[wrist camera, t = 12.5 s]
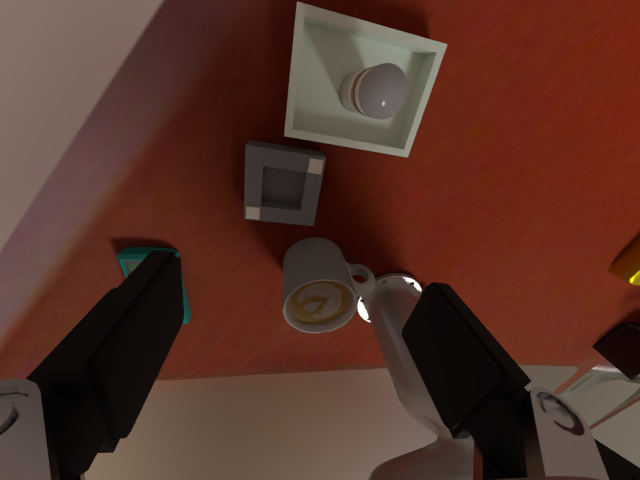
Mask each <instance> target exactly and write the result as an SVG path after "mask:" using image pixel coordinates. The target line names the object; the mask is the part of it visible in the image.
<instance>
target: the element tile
mask: <svg viewBox="0 0 640 480" xmlns="http://www.w3.org/2000/svg"><path fill="white" fill-rule="evenodd" d="M608 271H609V272H610V273H611V274H613V275H615V276H617V277H619V278H620V279H622V280H624V281H626V282H628V283H629V284H632V285H640V236H639V237H638V238H637V239H636V240H635V241H634V242H633V243H632V244H631V245H630V246H629V247H628V248H627V249H626V250H625V251H624V252H623V254H622V255H621V256H620V257H619V258H618V259H617V260H616V261H615V262H614V263H613V264H612V265H611V266H610V267H609V269H608Z"/></svg>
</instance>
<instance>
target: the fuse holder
mask: <svg viewBox="0 0 640 480" xmlns="http://www.w3.org/2000/svg"><path fill="white" fill-rule="evenodd" d="M325 162H326V157H325V155H324V154H323V152H321V151H315V150H309V149H303V148H297V147H291V146H285V145H279V144H273V143H267V142H261V141H255V140H249V141H248V142H247V144H246V145H245V190H244V219H247V220H257V221H267V222H276V223H286V224H296V225H306V226H314V221H315V216H316V210H317V205H318V199H319V194H320V189H321V183H322V178H323V173H324V167H325Z"/></svg>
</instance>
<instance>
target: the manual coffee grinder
mask: <svg viewBox="0 0 640 480" xmlns="http://www.w3.org/2000/svg"><path fill="white" fill-rule="evenodd" d="M593 348H594V349H596V350H597V351H598V352H599V353H600V354H601V355H602V356H603V357H605V358H606V359H607V360H608V361H609V362H610V363H612V364H613V365H614V366H615V367H616V368H617V369H619V370H620V371H621V372H622V373H623V374H625V375H626V376H627V377H628V378H629V379H631V380H637V381H640V324H636V323H635V324H631V323H627V324H622V325H620V326H618V327H617V328H615V329H614V330H612V331H611V332H610V333H609V334H607V335H606V336H605V337H603V338H602V339H601V340H599V341H598V342H597V343H596V344H595V345H594V346H593Z"/></svg>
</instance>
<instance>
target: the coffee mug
mask: <svg viewBox="0 0 640 480" xmlns="http://www.w3.org/2000/svg"><path fill="white" fill-rule="evenodd" d="M353 275H361V276H362V277H364V278H365V280H366V281H365V282H363V283H358V282H356V281H355V280H354V279H353V278H352V276H353ZM374 288H375V277H374V275H373V273H372V272H371V270H370V269H369V268H368V267H366V266H364V265H361V264H350V263H347V262H346V261H345V259H344V257H343V255H342V252H341V250H340V248H339V247H338V246H337V245H336V244H335V243H334V242H332V241H330V240H328V239H325V238H321V237H310V238H305V239H302V240H300V241H298V242H296V243H294V244H293V245H292V246H291V247H290V248H289V249H288V250H287V252H286V254H285V256H284V260H283V315H284V317H285V319H286V321H287V322H288V323H289V324H290V325H291V326H292V327H294V328H295V329H298V330H300V331H303V332H308V333H323V332H328V331H332V330H335V329H337V328H339V327H341V326H343V325H344V324H346V323H347V322H348V321H349V320H350V319H351V318H352V317H353V316H354V314H355V312H356V310H357V306H358V298H357V297H358V296H365V295H368V294H370V293H371V292H372V291H373V290H374Z"/></svg>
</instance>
